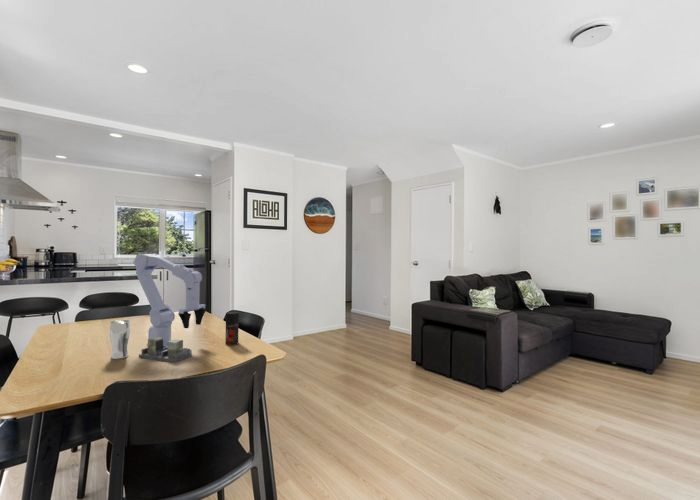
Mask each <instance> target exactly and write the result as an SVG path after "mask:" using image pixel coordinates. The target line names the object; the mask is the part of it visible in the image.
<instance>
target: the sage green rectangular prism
mask: <svg viewBox="0 0 700 500" xmlns="http://www.w3.org/2000/svg"><path fill="white" fill-rule="evenodd" d="M167 346H168V356H171V357H175V353H178V352H181V351H183V348H184V340H183V339H178V338H177V339H176V338H175V339H171V341H168V345H167Z"/></svg>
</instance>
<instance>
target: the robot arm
mask: <svg viewBox="0 0 700 500" xmlns="http://www.w3.org/2000/svg"><path fill="white" fill-rule="evenodd" d="M133 264H134V266H135V269H136V277H137V279H138V282H139V283H140V286H141V287H142V288H141V289H142V290H143V292H144V295H145V297H146V298H147V302H148V303H149V305H150V308H151V309H150V310H149V313H148V314H149V321H150V323H151V326H150V327H149V329H148V331H147V333H148V334H147V336H148V337H147V340H148V339H150V338H153V337H161V338H163V345H164V346H168V341H171V340H172V324H173V321H174V320H175V316H176V315H175V312H174V311H173V310H172V309H171V308H170V306H169V305H167V304H165V303H164V301H163V299H162V296H161V294H160V292H159V289H158V287H157V286H156V283H155V281H154V279H153V276H152V273H153V272H154V271H155V269H157V267H161V268H164V269H166V270H167V271H170V272H171V273H172V275H173V276H174V277H176V278H179V279H181V280H183V282H184V283H185V306H184V307H182V308H179V309H178V313H177V314H178V316H179V318H180V320H181V322H182V327H183V329H189V327H190V318H191V315H192V313H191V312H194V316H195V325H198V326H200V325H201V324H202V321H203V317H204V315H205V313H206V312H207V309H206V304H205V303H204V304H203V303H202V304H200V293H201V292H200V290H201V289H200V286H201V285H200V283H201V282H202V281H203V274H202V273H201V272H199V270H193V269H192V268H188V267H186V266H185V264H183V263H177V264H175V263H173V262H171V261H169V260H168V259H166V258H164V257H162V255H159V254H157V253H139V254H137V255H136V256H135V258H134V261H133ZM189 312H190V313H189ZM146 345H147V346H148V343H146Z"/></svg>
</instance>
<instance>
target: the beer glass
mask: <svg viewBox="0 0 700 500" xmlns="http://www.w3.org/2000/svg"><path fill="white" fill-rule="evenodd" d="M130 331H131V329H130V320H128V319H117V320H112V321H110V325H109V338H110V345H111V356H110V359H111V360H123V359H126V358H128V357H129V352H128V351H129V350H128V346H129V345H128V344H129V340H130V334H131V332H130Z"/></svg>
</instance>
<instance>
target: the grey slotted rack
mask: <svg viewBox="0 0 700 500" xmlns="http://www.w3.org/2000/svg"><path fill="white" fill-rule="evenodd" d="M147 344H148V345H147V347H144V348H141V353H139V354H138V358H141V359H148V360H149V359H150V360H155V361H162V362H170V363H178V362H181V361H182V360H185V359H188V358H190V357H192V355H193V351H192V349H190V348H188V347H183V351H181V352H178V353H175V357H171V356H168V345H166V346H164V345H163V338H161V337H153V338H150V339H148V338H147Z"/></svg>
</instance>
